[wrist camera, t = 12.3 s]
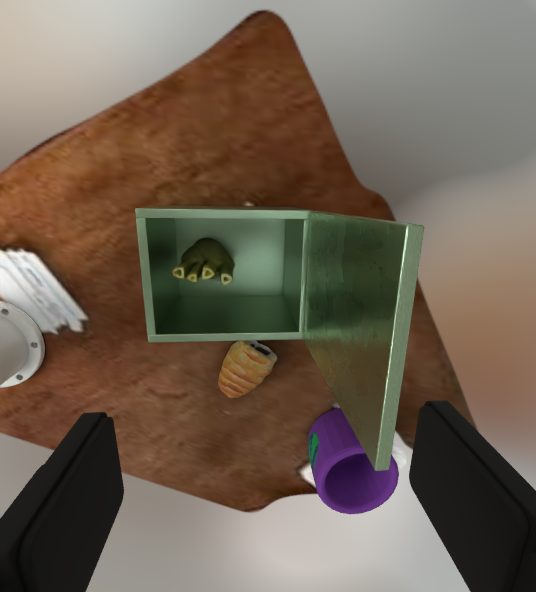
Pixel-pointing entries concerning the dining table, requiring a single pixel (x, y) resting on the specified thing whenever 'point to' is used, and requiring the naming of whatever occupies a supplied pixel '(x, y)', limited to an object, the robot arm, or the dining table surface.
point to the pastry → (245, 367)
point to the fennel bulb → (205, 262)
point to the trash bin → (211, 293)
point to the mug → (346, 467)
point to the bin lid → (362, 318)
